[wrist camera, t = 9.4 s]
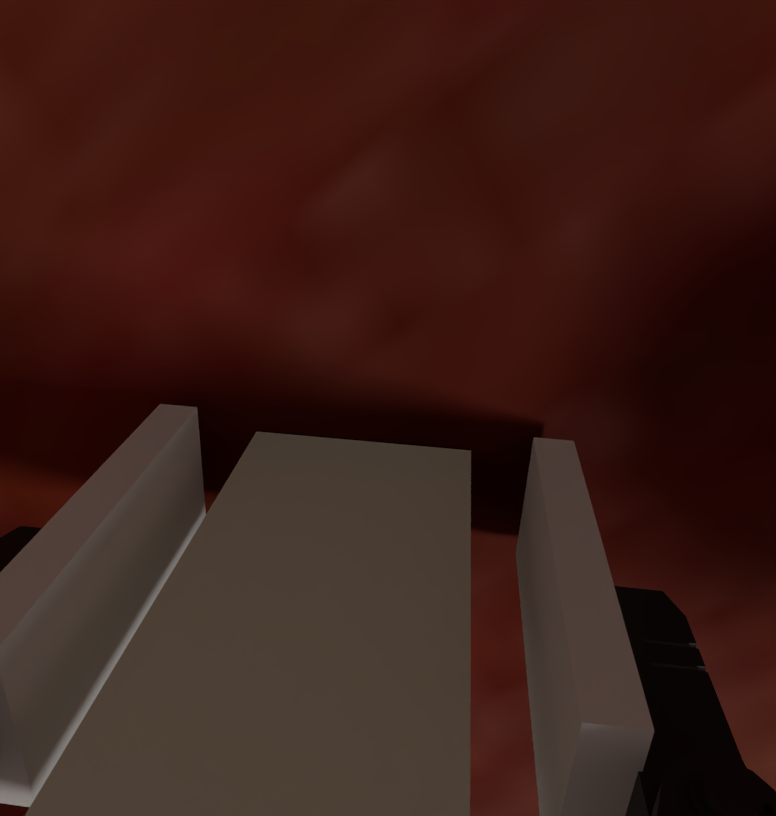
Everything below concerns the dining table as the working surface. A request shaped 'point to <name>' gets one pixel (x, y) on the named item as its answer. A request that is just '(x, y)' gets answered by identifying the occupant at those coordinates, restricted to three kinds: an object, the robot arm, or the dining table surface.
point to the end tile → (297, 649)
